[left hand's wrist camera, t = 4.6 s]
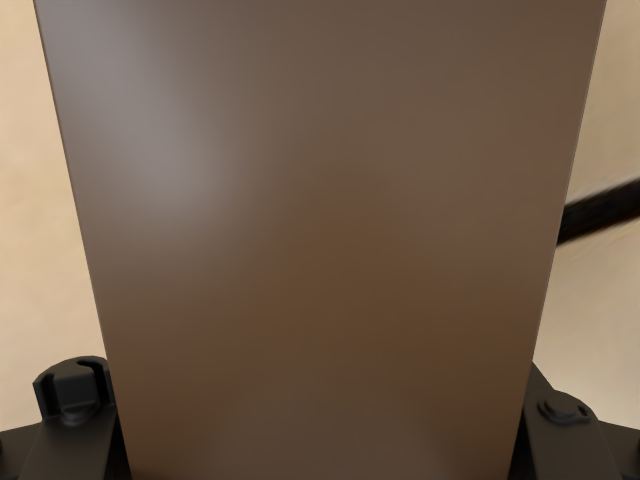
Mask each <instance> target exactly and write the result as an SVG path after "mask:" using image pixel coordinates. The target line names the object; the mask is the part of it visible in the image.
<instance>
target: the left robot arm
mask: <svg viewBox="0 0 640 480" xmlns="http://www.w3.org/2000/svg"><path fill="white" fill-rule="evenodd" d="M32 384H33V387H34V391H35V394H36V398H37V401H38V405H39V408H40V412H41V415H42V422H40V423H36V424H33V425H28V426H24V427H20V428H15V429H11V430H6V431H2V432H0V480H132V477H131V472H130V467H129V462H128V458H127V453H126V448H125V443H124V438H123V433H122V429H121V424H120V419H119V414H118V409H117V404H116V400H115V395H114V390H113V385H112V380H111V375H110V371H109V366H108V361H107V360H106V359H104V358H102V357H97V356H80V357H76V358H72V359H68V360H65V361H62V362H60V363H58V364H56V365H53V366H51V367H50V368H48V369H47V370H45V371H44V372H43V373H41V374H40V375H39V376H38V377H37V378H36V380H35V381H34V382H33V383H32ZM508 480H640V430H638V429H633V428H629V427H624V426H620V425H615V424H611V423H606V422H603V421H600V420H598V418H597V417H596V416H595V414H594V413H593V411H592V410H591V409H590V408H589V407H588V406H587V405H585V404H584V403H583V402H582V401H581V400H579V399H577V398H575V397H573V396H571V395H569V394H567V393H564V392H560V391H557V390H554V389H553V388H552V386H551V385H550V384H549V382H548V381H547V380H546V378H545V377H544V376H543V375H542V373H541V372H540V371H539V369H538V368H537V367H536V365H535V364H534V363H533V362H532V364H531V369H530V373H529V378H528V383H527V388H526V393H525V398H524V402H523V407H522V412H521V417H520V422H519V427H518V431H517V436H516V441H515V446H514V451H513V456H512V460H511V465H510V470H509V475H508Z"/></svg>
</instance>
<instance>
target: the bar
mask: <svg viewBox="0 0 640 480" xmlns="http://www.w3.org/2000/svg"><path fill="white" fill-rule="evenodd" d="M606 1H607V0H33V3H34V8H35V13H36V18H37V23H38V28H39V32H40V37H41V42H42V47H43V52H44V57H45V61H46V66H47V71H48V76H49V81H50V86H51V90H52V95H53V100H54V105H55V110H56V115H57V119H58V124H59V129H60V134H61V139H62V144H63V148H64V153H65V158H66V163H67V168H68V173H69V177H70V182H71V187H72V192H73V197H74V201H75V206H76V211H77V216H78V221H79V226H80V230H81V235H82V240H83V245H84V250H85V255H86V259H87V264H88V269H89V274H90V279H91V284H92V288H93V293H94V298H95V303H96V308H97V313H98V317H99V322H100V327H101V332H102V337H103V342H104V346H105V351H106V356H107V361H108V366H109V371H110V375H111V380H112V385H113V390H114V395H115V400H116V404H117V409H118V414H119V419H120V424H121V429H122V433H123V438H124V443H125V448H126V453H127V458H128V462H129V467H130V472H131V477H132V480H508V475H509V470H510V465H511V460H512V456H513V451H514V446H515V441H516V436H517V431H518V427H519V422H520V417H521V412H522V407H523V402H524V398H525V393H526V388H527V383H528V378H529V373H530V369H531V364H532V359H533V354H534V349H535V344H536V340H537V335H538V330H539V325H540V320H541V315H542V311H543V306H544V301H545V296H546V291H547V286H548V282H549V277H550V272H551V267H552V262H553V257H554V253H555V248H556V243H557V238H558V233H559V228H560V224H561V219H562V214H563V209H564V204H565V199H566V195H567V190H568V185H569V180H570V175H571V170H572V166H573V161H574V156H575V151H576V146H577V141H578V137H579V132H580V127H581V122H582V117H583V112H584V108H585V103H586V98H587V93H588V88H589V83H590V79H591V74H592V69H593V64H594V59H595V54H596V50H597V45H598V40H599V35H600V30H601V25H602V21H603V16H604V11H605V6H606Z"/></svg>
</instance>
